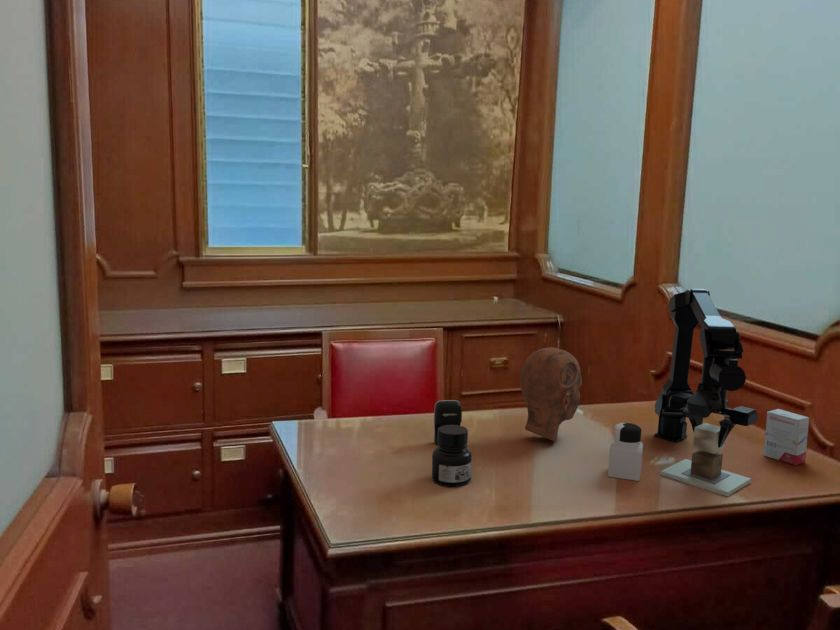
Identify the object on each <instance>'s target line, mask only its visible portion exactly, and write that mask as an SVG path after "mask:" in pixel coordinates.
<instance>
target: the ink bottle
mask: <svg viewBox="0 0 840 630" xmlns="http://www.w3.org/2000/svg"><path fill="white" fill-rule="evenodd" d="M468 439H469V429H468V428H467V427H466V426H463V425H460V426H459V425H444V426H441V427H439V428H438V437H437V442H438V443H437V444H438V446H436V447H435V448H434V450H432V454H431V455H432V457H431V461H432V462H431V479H432V480H433V482H434V483H436V484H439V485H440V484H441V485H440V486H443V485H446V486H445V487H460V485H461V486H464V485H468V484H469V483H470V482H471V480H472V458H473V457H472V451H471V450H470V449H468V443H469V442H468ZM437 444H436V445H437Z"/></svg>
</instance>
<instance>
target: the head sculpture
mask: <svg viewBox="0 0 840 630" xmlns="http://www.w3.org/2000/svg"><path fill="white" fill-rule="evenodd" d="M519 375H520V376H519V385H520V386H519V387H520V390H521V393H522V396H523V400H524V402H525V404H526V409H527V419H526V423H525V426H524V429H525V431H527V432H530V433H532V434H534V435H538V436H540V437H541V438H545V439H547V440H550V441H553V442H557V441H558V435H559V428H560V425H561V424H562V423H563V422H565V421H569V420H572V419H573V418H574V416H575V413H576V412H577V410H578V407H579V404H580V400H581V393H580V388H581V387H582V384H583V378H582V373H581V367H580V363H579V362H578V359H576V357H575V356H574V355H573V354H572V353H570V352H568V351H567V350H565V349H561V348H557V347H551V346H550V347H543V348H540V349H538V350H535V351H534V352H532V353H531V354H530V355H528V356H527V358H526V359H525V361H524V363H523V364H522V367H521V370H520V374H519Z"/></svg>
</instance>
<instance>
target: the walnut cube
mask: <svg viewBox="0 0 840 630" xmlns="http://www.w3.org/2000/svg"><path fill="white" fill-rule="evenodd" d="M723 457H724V454H723V453H721V452H719V451H718V452H716V453H714V454H712V453H709V452H705V451H702V450H698V449H696V451H693V452H692V453H691V461H692V462H691V474H694V475H698V476H701V477H704V478H707V479H710V480H712V479H713V478H715V477H717V476H719V475H720V474H721V470H723V469H722V467H723Z"/></svg>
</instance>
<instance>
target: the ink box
mask: <svg viewBox="0 0 840 630" xmlns="http://www.w3.org/2000/svg"><path fill="white" fill-rule="evenodd" d="M809 423H810V417H808V416H805V415H801V414H799V413H798V414H797V413H796V412H795V413H793V412H792V411H791V412H790V411H787V410H784V409H780V408H776V409H772V410H768V411H767V412H766V424H765V437H764V447H763V456H764V457H768V458H771V459H774V460H776V461H781V462H784V463H787V464H789V465H794V466H798V465H801V464H803V463H804V462H806V455H807V446H808V433H809V425H810V424H809Z"/></svg>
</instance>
